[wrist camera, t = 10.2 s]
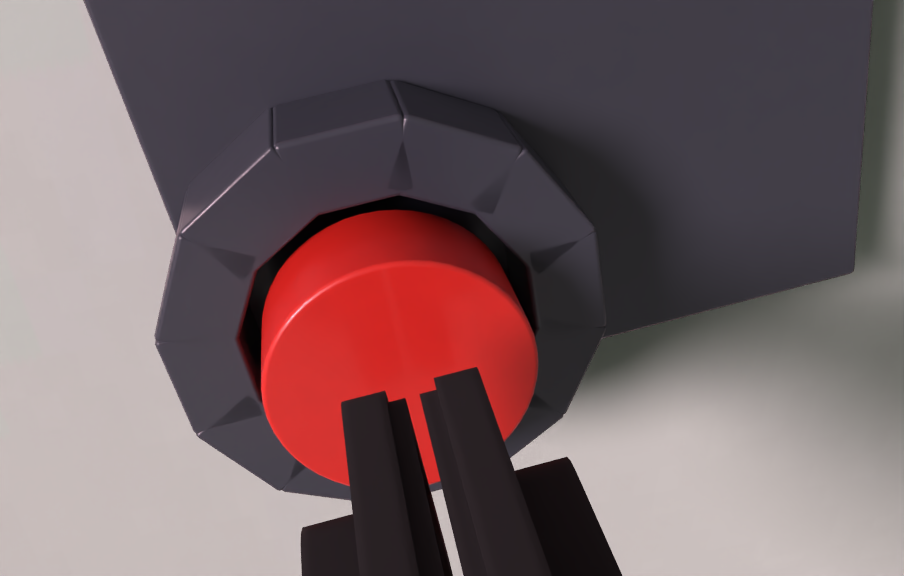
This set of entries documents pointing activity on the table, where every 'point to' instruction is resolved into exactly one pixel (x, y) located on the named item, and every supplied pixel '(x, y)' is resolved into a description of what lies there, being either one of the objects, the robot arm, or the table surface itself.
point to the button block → (489, 163)
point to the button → (388, 330)
